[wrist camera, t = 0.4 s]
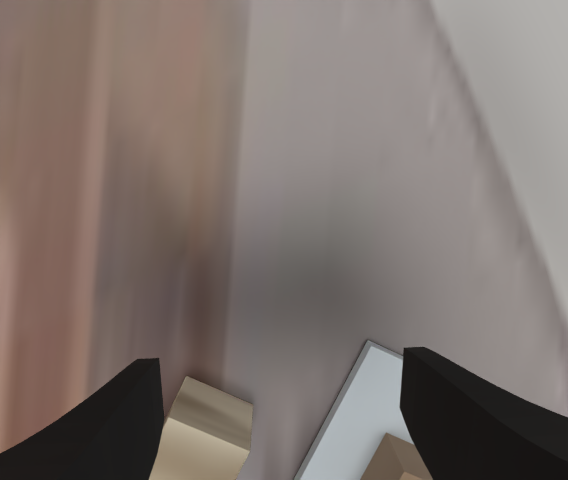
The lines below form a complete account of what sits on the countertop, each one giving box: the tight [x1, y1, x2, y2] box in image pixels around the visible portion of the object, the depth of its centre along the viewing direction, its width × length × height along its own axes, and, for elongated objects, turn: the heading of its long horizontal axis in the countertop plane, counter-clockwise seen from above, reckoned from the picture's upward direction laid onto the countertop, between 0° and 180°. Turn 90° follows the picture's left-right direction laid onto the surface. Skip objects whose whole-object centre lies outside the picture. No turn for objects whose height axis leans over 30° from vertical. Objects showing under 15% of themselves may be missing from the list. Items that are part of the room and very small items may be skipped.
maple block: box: [149, 376, 253, 480], centre depth 21 cm, size 4×4×4 cm
